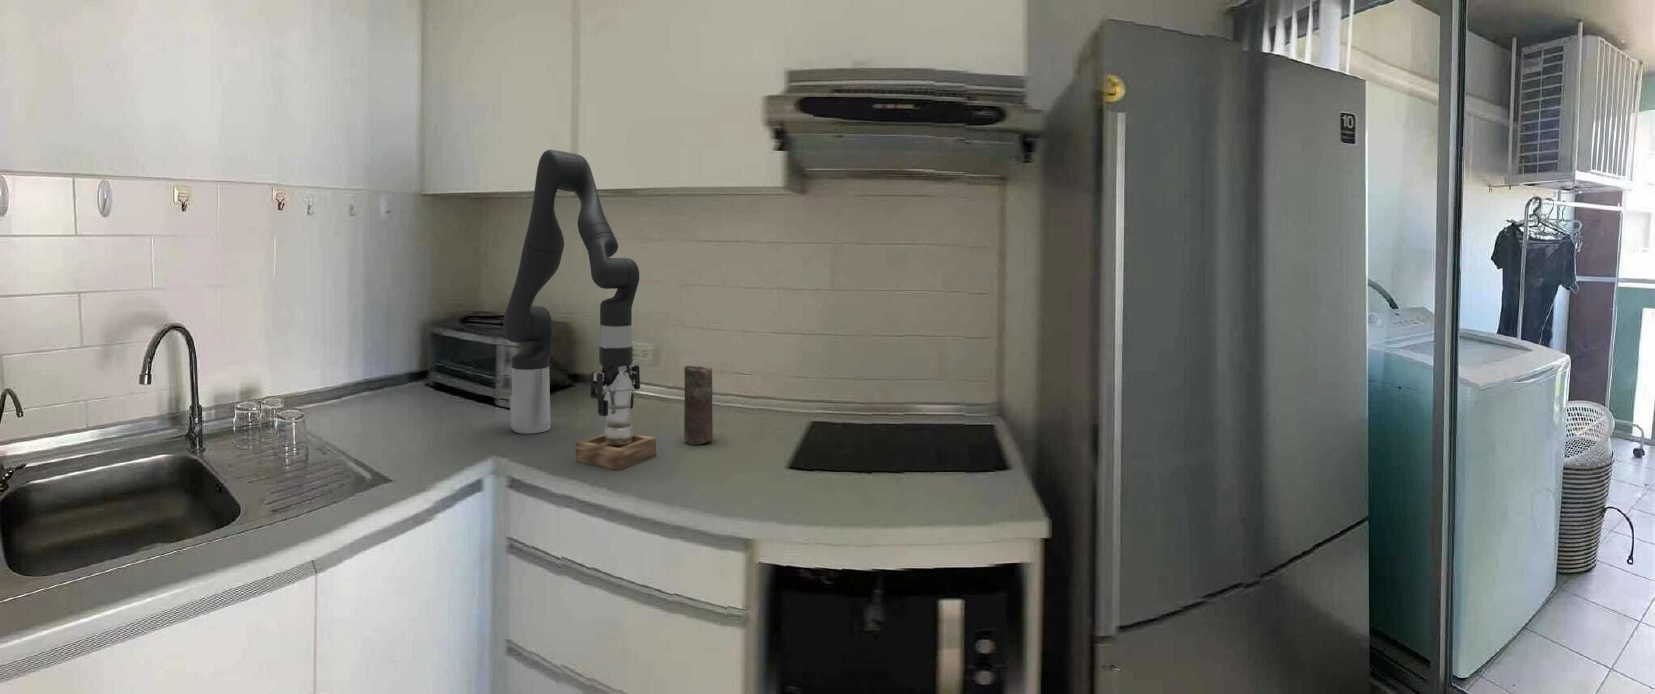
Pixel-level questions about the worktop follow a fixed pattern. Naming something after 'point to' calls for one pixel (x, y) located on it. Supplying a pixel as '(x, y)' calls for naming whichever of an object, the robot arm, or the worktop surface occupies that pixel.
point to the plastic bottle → (619, 412)
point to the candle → (698, 405)
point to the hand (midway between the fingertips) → (616, 412)
